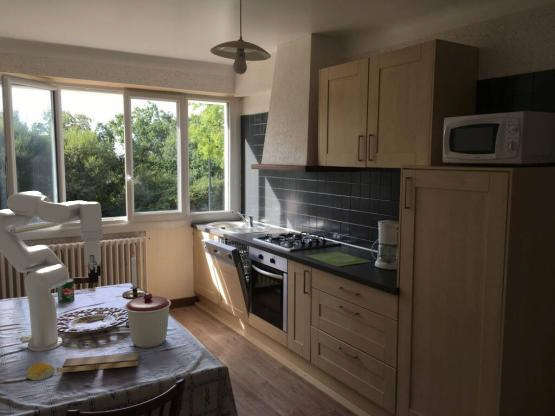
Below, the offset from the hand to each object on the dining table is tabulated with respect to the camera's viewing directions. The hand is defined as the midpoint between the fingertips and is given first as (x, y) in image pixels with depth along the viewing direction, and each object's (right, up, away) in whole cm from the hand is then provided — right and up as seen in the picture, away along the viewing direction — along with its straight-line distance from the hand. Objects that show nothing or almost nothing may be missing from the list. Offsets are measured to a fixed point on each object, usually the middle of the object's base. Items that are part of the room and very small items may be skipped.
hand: (95, 279), depth 177 cm
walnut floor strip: (+4, -31, -4) cm, 31 cm away
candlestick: (+5, -26, +35) cm, 43 cm away
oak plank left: (0, -30, -14) cm, 33 cm away
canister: (+16, -29, +15) cm, 36 cm away
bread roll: (-14, -32, -12) cm, 37 cm away
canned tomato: (-41, -21, +65) cm, 80 cm away
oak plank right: (+13, -29, -11) cm, 34 cm away
